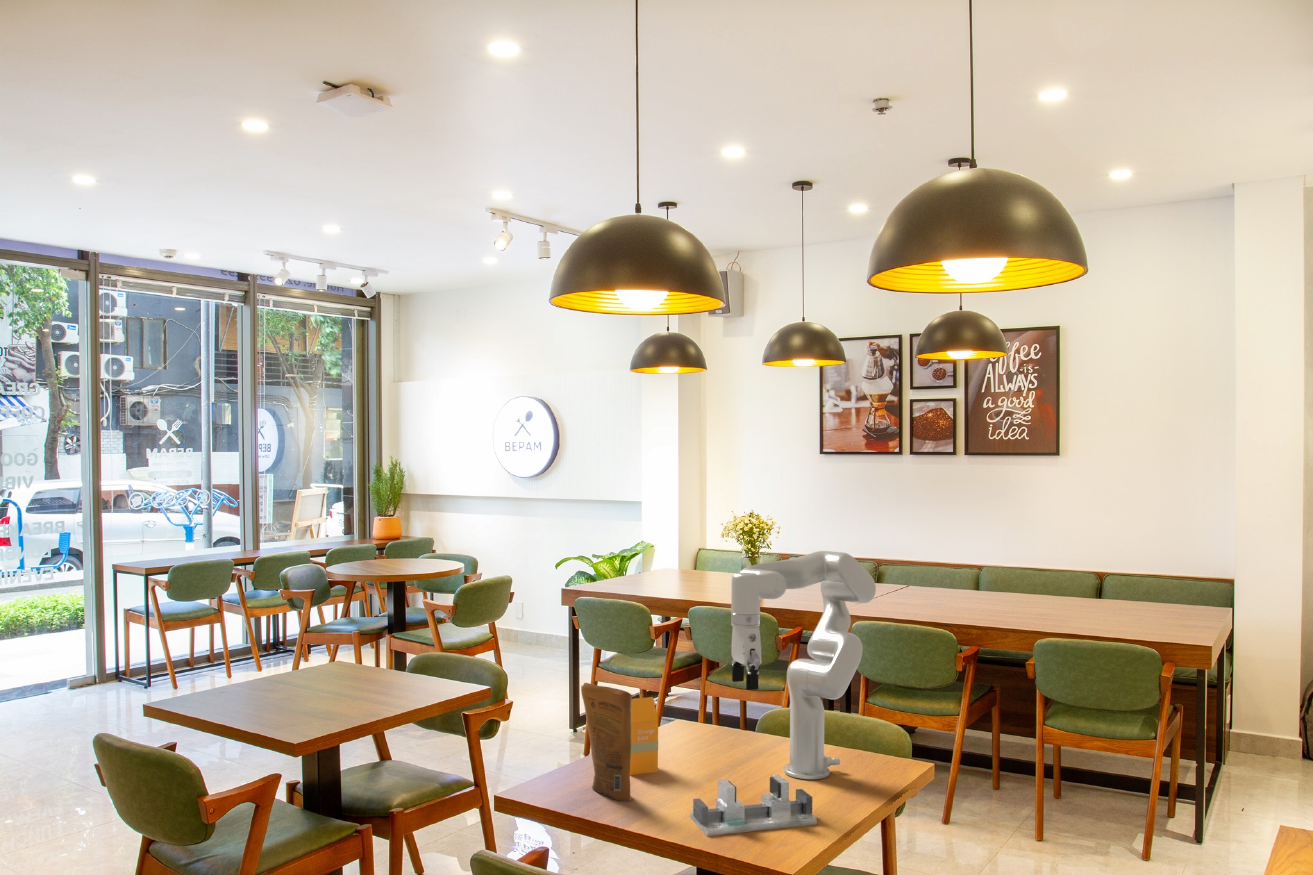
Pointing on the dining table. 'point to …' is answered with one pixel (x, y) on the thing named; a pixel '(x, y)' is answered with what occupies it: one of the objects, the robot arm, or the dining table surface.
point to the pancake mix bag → (609, 738)
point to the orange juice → (644, 736)
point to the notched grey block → (729, 802)
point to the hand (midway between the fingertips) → (744, 685)
